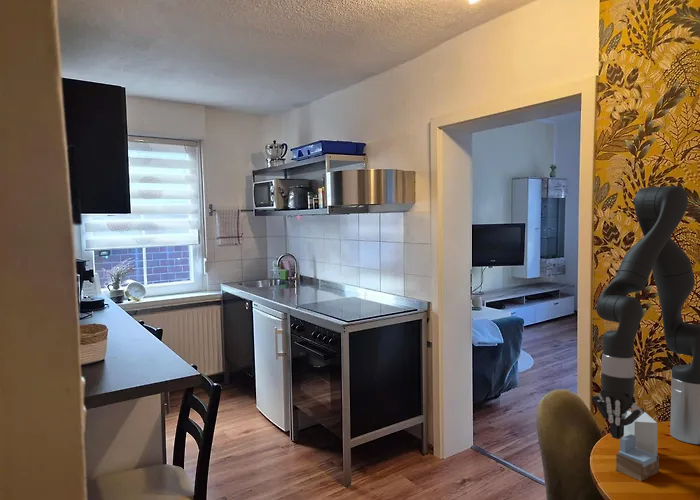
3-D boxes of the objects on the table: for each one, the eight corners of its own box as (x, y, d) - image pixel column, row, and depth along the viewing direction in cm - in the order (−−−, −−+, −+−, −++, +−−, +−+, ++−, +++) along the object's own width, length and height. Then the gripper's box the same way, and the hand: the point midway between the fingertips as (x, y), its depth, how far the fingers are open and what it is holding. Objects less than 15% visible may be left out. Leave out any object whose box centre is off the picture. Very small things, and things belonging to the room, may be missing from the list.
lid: (631, 451, 121) (632, 433, 121) (656, 460, 116) (657, 442, 116) (618, 456, 118) (618, 439, 118) (643, 467, 113) (643, 448, 113)
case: (633, 462, 122) (634, 446, 121) (658, 472, 116) (658, 455, 116) (616, 470, 118) (616, 454, 117) (640, 481, 112) (641, 464, 112)
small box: (657, 462, 121) (658, 423, 121) (633, 460, 122) (634, 421, 122) (644, 448, 129) (645, 411, 129) (622, 446, 130) (623, 409, 130)
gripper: (652, 376, 117) (651, 444, 117) (601, 363, 128) (601, 425, 129) (635, 381, 113) (634, 451, 114) (584, 367, 124) (584, 431, 125)
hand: (616, 437), depth 121 cm, fingers closed
